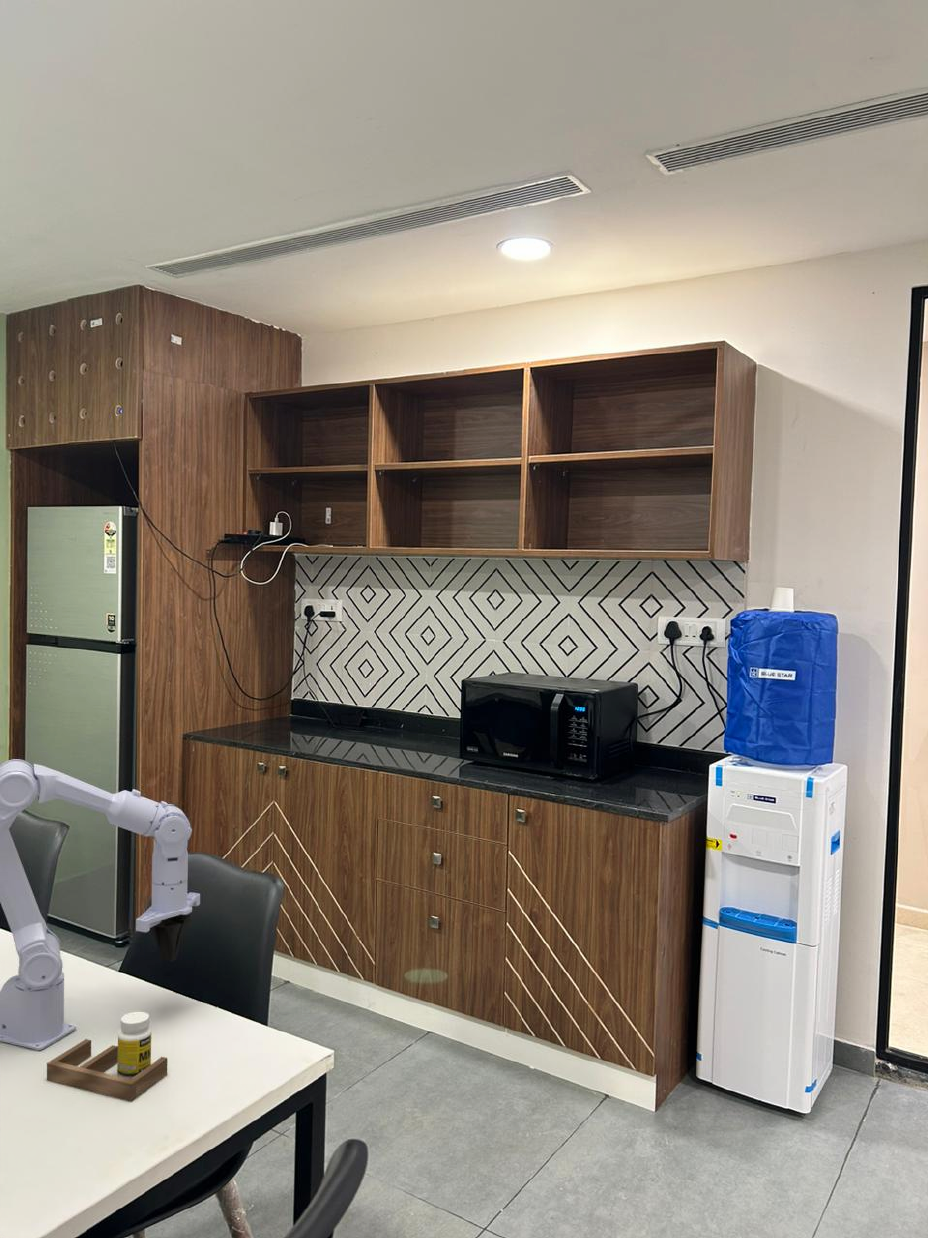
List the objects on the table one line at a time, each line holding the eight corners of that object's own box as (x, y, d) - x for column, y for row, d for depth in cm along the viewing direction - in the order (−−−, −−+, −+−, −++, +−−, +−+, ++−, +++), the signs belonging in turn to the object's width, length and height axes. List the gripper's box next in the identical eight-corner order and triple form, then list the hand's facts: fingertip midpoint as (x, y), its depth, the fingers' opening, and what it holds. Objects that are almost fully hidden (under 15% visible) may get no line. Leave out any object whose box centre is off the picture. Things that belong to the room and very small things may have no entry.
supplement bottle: (142, 1082, 139) (143, 1026, 139) (111, 1080, 140) (112, 1023, 139) (156, 1066, 144) (156, 1011, 144) (125, 1063, 144) (126, 1009, 144)
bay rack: (46, 1080, 139) (46, 1063, 139) (85, 1055, 147) (85, 1039, 147) (131, 1102, 134) (131, 1084, 134) (167, 1074, 142) (167, 1058, 141)
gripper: (162, 896, 152) (160, 980, 152) (215, 871, 165) (214, 948, 166) (125, 890, 154) (124, 973, 155) (181, 866, 168) (180, 942, 168)
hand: (168, 960), depth 160 cm, fingers closed
